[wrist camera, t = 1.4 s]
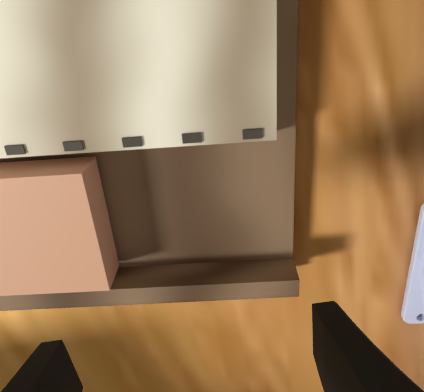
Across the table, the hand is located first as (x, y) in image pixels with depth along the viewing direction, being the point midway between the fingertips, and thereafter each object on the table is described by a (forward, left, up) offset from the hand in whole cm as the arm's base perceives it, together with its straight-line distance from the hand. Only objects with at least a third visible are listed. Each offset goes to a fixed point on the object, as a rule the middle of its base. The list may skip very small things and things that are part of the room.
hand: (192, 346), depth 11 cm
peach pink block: (+8, 0, -8) cm, 11 cm away
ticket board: (+7, -3, -10) cm, 12 cm away
